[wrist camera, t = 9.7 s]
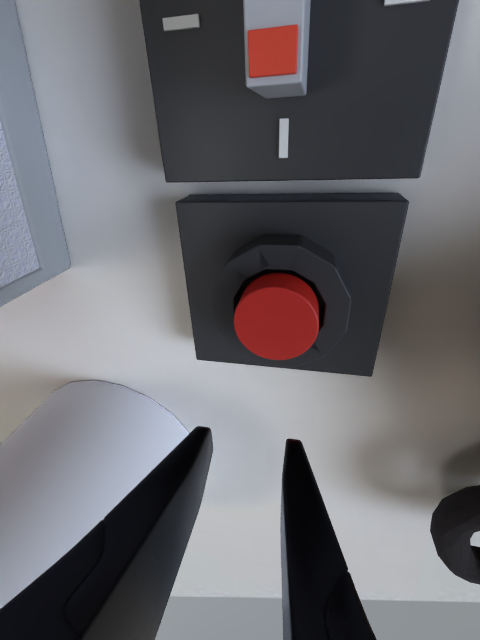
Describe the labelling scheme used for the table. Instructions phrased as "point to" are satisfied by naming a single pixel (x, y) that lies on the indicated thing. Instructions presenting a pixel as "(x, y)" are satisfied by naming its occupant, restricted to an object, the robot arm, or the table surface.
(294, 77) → the grey rectangular block
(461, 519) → the device
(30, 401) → the table surface
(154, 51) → the panel
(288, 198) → the button block
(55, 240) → the wrapped gift box
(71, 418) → the canister
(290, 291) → the power button
